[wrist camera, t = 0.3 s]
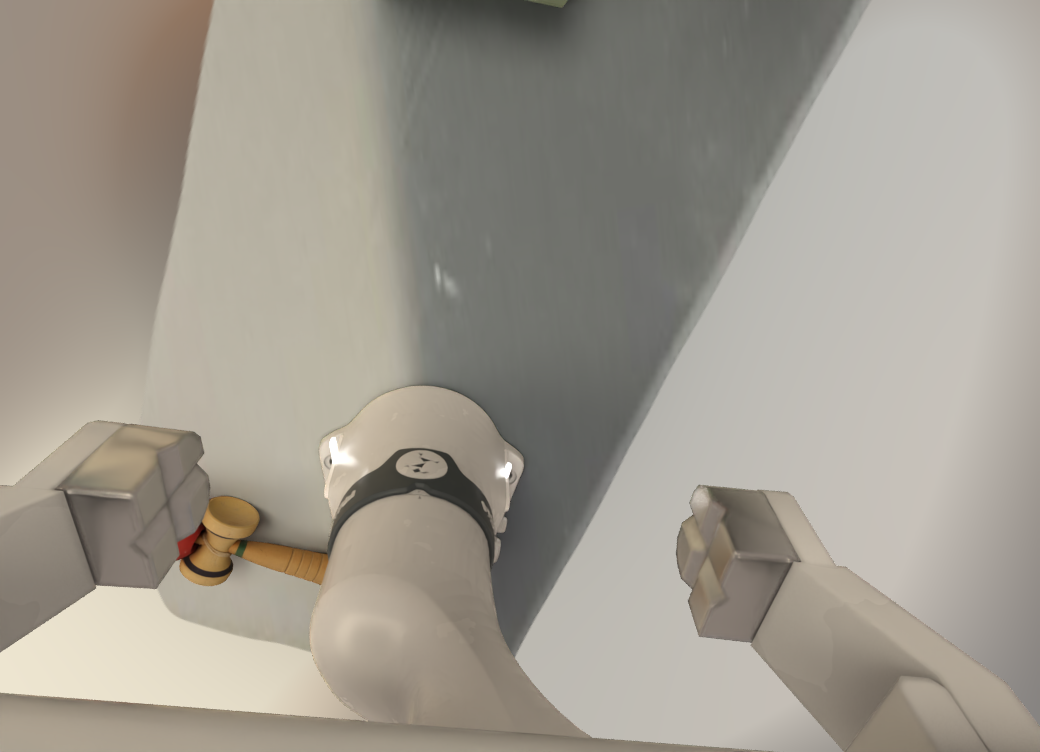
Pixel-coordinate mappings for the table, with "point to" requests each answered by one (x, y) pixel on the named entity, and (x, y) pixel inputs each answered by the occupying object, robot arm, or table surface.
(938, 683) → the robot arm
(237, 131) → the table surface
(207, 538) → the kendama
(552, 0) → the bin
